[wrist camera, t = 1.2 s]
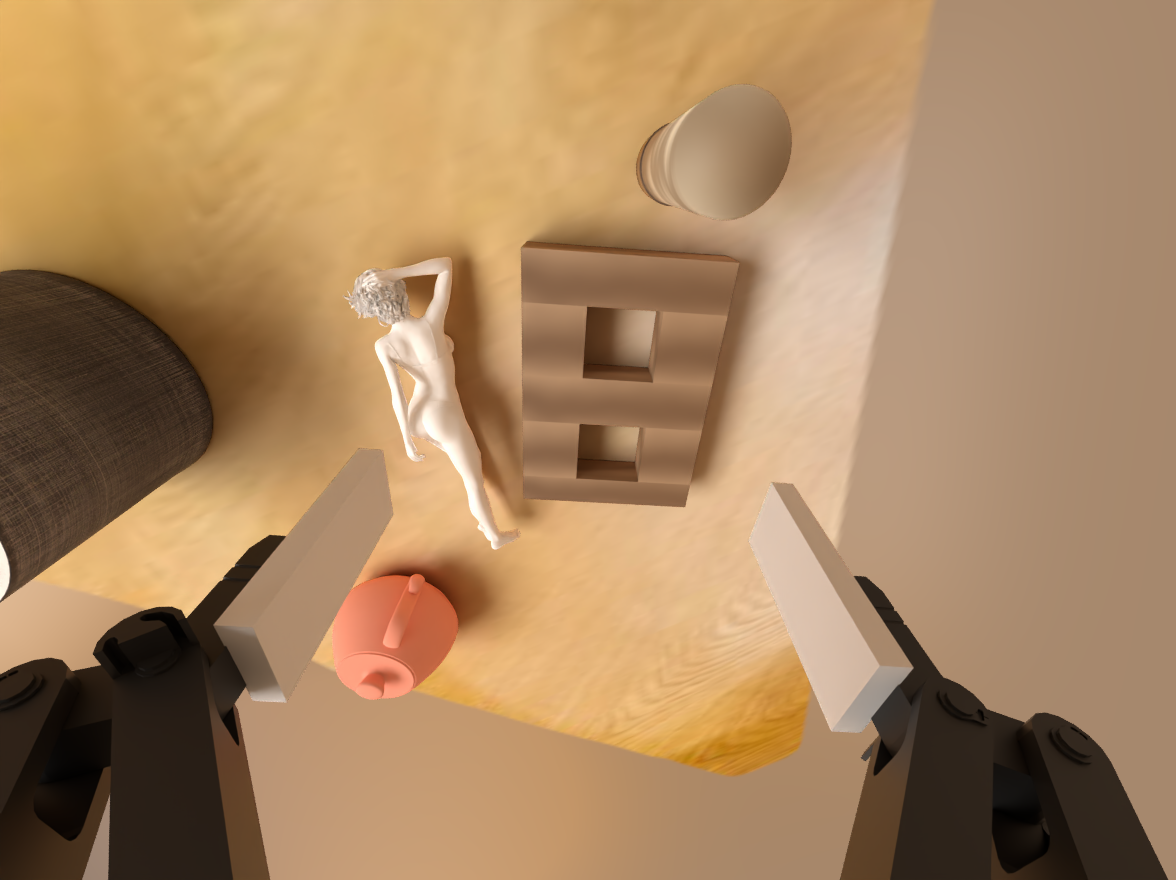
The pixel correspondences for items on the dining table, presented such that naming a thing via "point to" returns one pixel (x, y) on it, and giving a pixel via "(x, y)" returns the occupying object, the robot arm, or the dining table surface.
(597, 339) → the dining table surface
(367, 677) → the sugar bowl
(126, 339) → the planter
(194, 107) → the dining table surface
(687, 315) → the board
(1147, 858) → the robot arm
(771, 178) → the leg
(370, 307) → the figurine
